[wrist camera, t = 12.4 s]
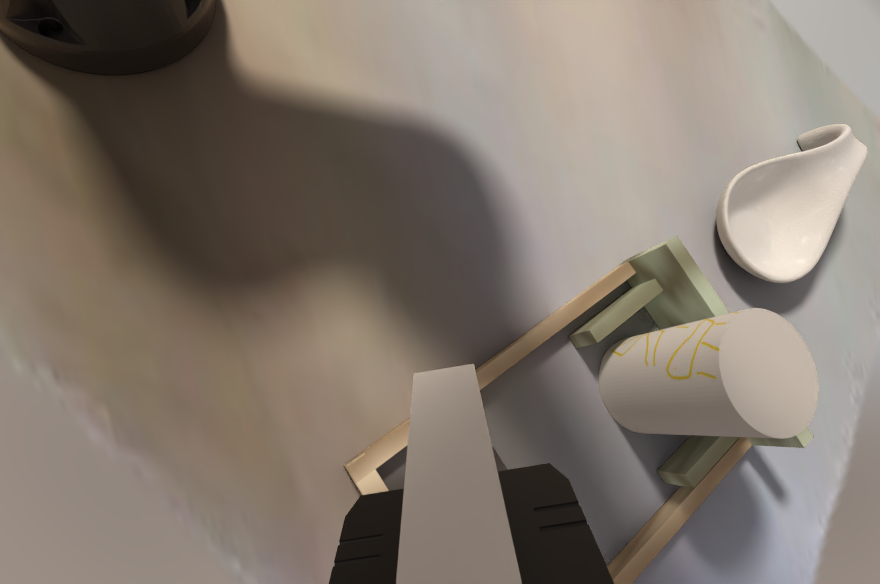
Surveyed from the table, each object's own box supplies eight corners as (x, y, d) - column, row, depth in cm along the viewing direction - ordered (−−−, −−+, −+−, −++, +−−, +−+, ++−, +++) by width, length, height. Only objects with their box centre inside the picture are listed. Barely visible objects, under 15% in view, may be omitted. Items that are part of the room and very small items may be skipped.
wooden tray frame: (343, 465, 32) (355, 475, 27) (627, 259, 44) (677, 235, 39) (497, 713, 31) (543, 776, 26) (745, 434, 43) (813, 436, 38)
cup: (645, 321, 43) (770, 287, 32) (693, 401, 42) (837, 394, 31) (581, 366, 40) (696, 345, 29) (633, 452, 39) (770, 465, 28)
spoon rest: (753, 313, 48) (829, 296, 41) (676, 225, 47) (739, 194, 41) (838, 187, 57) (911, 156, 50) (773, 113, 57) (838, 72, 50)
